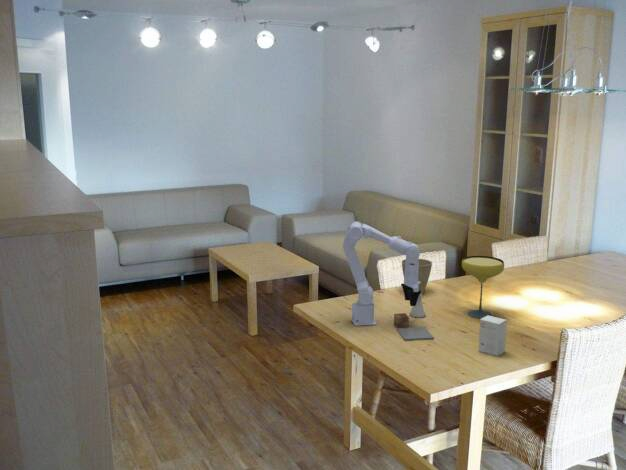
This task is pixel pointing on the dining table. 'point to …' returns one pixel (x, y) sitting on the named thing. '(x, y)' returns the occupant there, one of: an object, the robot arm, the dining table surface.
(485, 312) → the cocktail glass
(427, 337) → the coaster
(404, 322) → the walnut cube
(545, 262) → the dining table surface
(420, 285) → the plant pot
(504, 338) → the small box
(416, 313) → the flask
